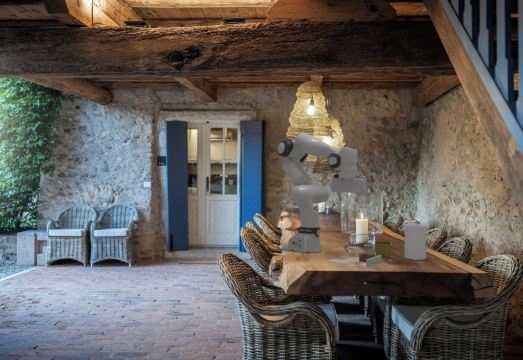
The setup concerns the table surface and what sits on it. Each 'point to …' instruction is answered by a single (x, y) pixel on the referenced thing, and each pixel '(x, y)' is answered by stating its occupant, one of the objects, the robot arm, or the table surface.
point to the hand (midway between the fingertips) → (348, 200)
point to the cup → (415, 241)
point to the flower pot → (383, 249)
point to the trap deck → (367, 263)
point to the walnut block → (365, 256)
